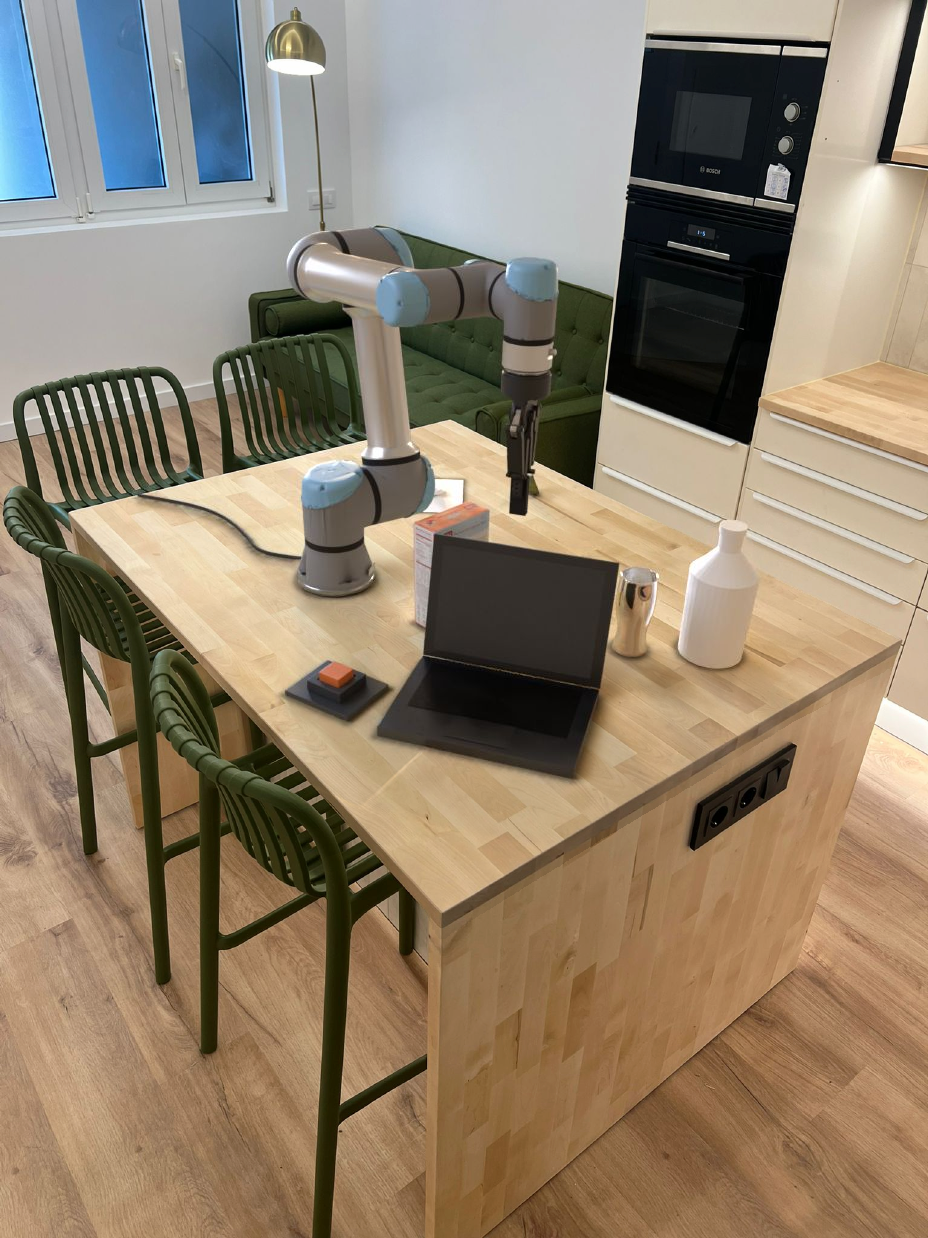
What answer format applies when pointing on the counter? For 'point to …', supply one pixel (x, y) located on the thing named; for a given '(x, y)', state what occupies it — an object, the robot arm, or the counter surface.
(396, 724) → the laptop
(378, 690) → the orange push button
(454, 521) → the cracker box
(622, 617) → the beer glass
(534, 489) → the lime
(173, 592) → the counter surface
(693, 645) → the bottle
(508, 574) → the laptop screen
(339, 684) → the key
